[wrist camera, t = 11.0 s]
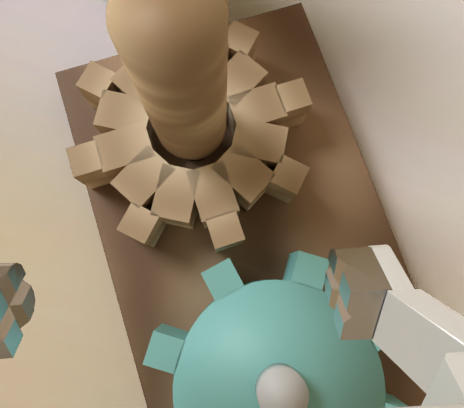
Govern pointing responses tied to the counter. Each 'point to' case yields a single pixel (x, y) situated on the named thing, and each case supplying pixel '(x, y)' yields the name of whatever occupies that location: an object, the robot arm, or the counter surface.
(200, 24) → the loose gear
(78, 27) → the counter surface
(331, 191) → the gear board
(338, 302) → the robot arm
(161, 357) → the gear
